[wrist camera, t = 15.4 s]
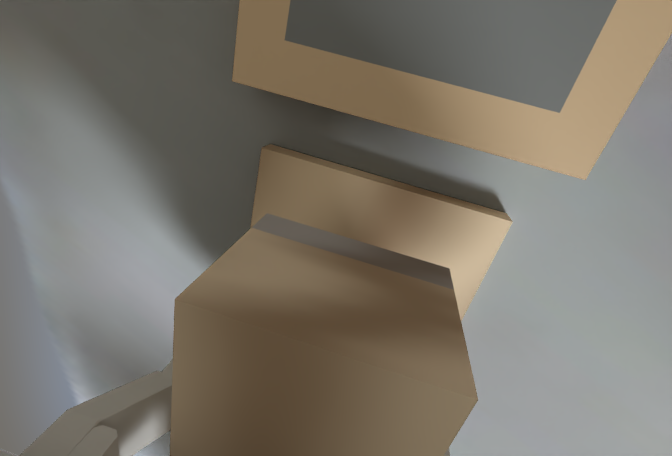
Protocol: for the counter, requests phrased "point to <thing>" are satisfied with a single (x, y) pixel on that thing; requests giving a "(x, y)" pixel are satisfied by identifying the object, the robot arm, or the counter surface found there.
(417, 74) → the chalkboard
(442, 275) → the block
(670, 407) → the counter surface
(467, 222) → the pad
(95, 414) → the robot arm
